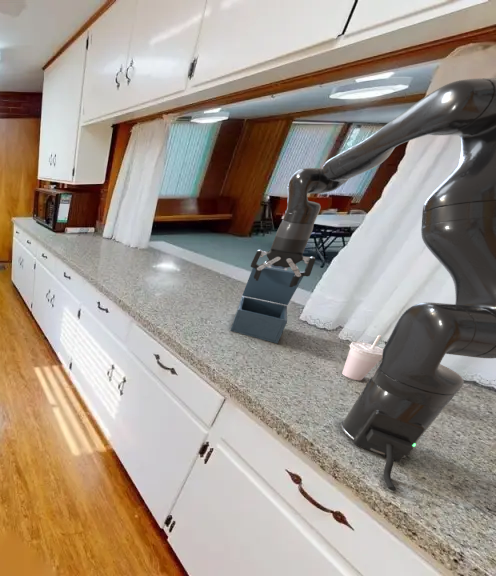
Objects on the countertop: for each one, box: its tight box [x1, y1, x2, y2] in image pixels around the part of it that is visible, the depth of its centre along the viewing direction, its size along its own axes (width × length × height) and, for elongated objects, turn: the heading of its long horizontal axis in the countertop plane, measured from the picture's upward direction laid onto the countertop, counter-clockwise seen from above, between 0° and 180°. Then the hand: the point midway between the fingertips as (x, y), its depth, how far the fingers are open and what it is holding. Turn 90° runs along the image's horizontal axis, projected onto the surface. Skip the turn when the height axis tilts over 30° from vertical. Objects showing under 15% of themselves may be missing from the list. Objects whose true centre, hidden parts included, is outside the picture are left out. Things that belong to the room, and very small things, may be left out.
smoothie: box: [341, 334, 384, 381], centre depth 81 cm, size 6×6×14 cm
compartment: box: [230, 296, 288, 344], centre depth 106 cm, size 15×13×9 cm
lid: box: [241, 264, 304, 306], centre depth 105 cm, size 15×13×6 cm
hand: (273, 283), depth 99 cm, fingers open, 8 cm apart
